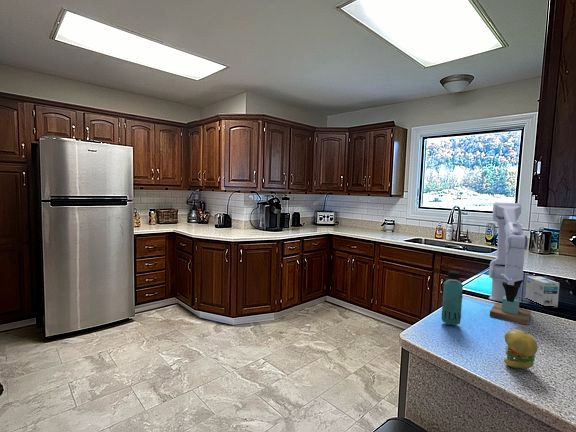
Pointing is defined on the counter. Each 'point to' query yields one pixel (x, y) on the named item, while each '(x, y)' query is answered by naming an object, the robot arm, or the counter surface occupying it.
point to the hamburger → (520, 349)
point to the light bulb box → (542, 290)
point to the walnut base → (510, 314)
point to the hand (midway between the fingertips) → (511, 298)
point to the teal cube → (510, 305)
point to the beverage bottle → (452, 299)
